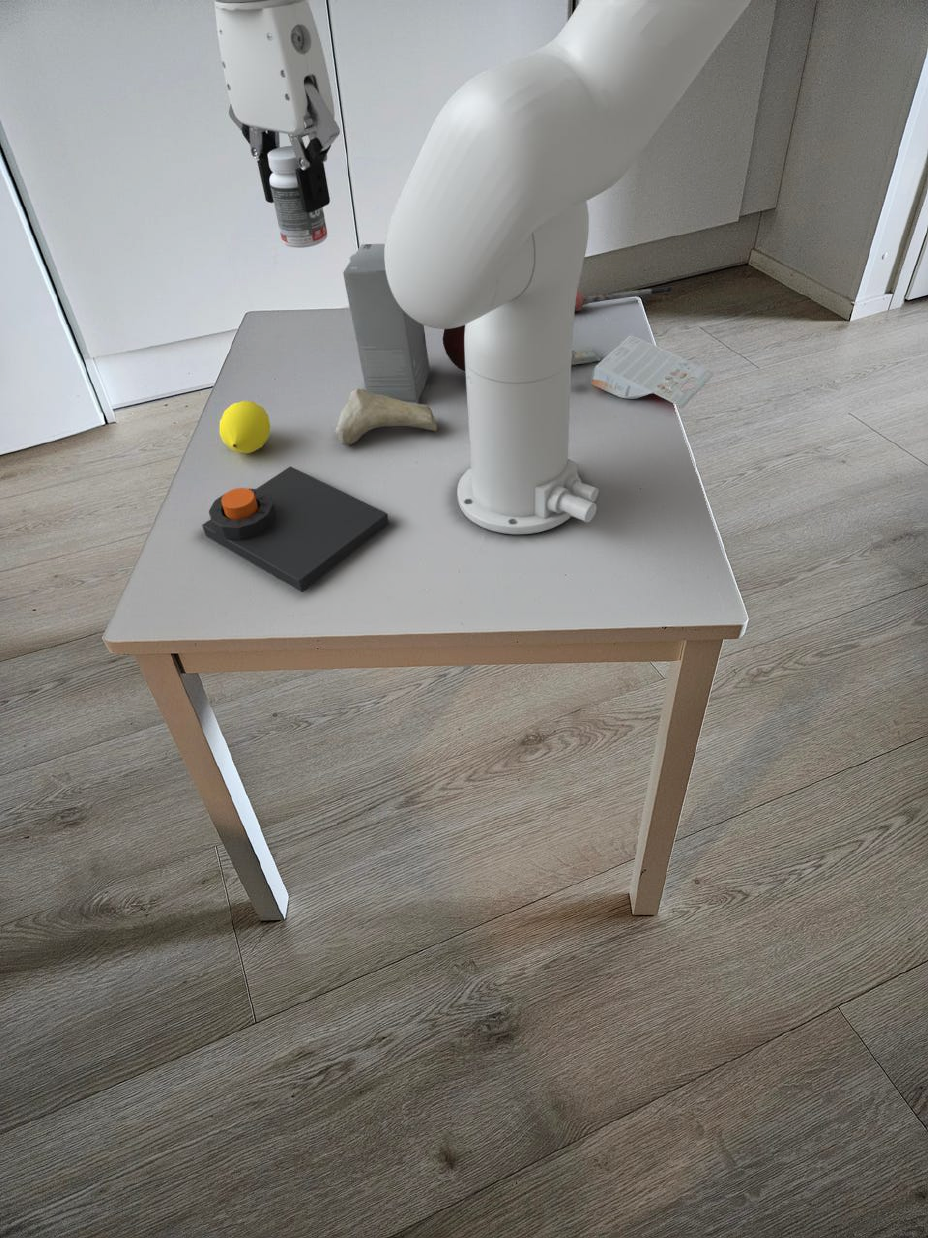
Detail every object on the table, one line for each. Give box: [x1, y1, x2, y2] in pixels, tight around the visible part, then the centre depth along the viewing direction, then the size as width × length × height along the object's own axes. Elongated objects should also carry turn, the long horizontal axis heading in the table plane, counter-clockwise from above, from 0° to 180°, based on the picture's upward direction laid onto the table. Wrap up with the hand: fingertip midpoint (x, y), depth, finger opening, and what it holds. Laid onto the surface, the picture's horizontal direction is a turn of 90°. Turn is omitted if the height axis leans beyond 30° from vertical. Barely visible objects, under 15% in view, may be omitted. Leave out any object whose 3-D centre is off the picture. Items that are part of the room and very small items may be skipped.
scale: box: [201, 466, 390, 592], centre depth 86 cm, size 14×12×3 cm
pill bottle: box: [268, 145, 328, 249], centre depth 87 cm, size 5×5×8 cm
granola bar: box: [571, 348, 602, 366], centre depth 106 cm, size 7×1×3 cm
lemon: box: [218, 400, 271, 454], centre depth 95 cm, size 7×5×5 cm
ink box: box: [590, 334, 715, 409], centre depth 102 cm, size 3×9×12 cm
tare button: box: [221, 487, 258, 520], centre depth 85 cm, size 3×3×2 cm
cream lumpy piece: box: [334, 388, 438, 446], centre depth 97 cm, size 11×6×5 cm, turn 101°
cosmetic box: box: [342, 243, 430, 404], centre depth 100 cm, size 8×7×16 cm
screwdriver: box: [575, 286, 673, 312], centre depth 116 cm, size 25×3×3 cm
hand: (297, 201), depth 87 cm, fingers closed on pill bottle, 4 cm apart
